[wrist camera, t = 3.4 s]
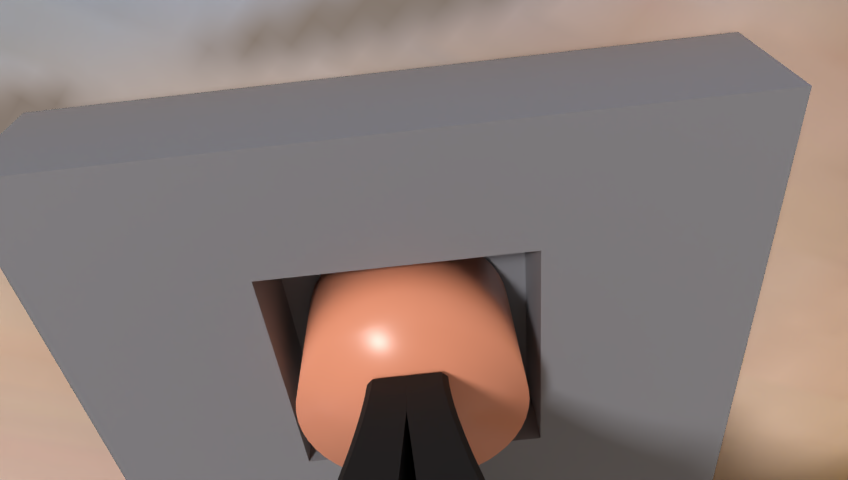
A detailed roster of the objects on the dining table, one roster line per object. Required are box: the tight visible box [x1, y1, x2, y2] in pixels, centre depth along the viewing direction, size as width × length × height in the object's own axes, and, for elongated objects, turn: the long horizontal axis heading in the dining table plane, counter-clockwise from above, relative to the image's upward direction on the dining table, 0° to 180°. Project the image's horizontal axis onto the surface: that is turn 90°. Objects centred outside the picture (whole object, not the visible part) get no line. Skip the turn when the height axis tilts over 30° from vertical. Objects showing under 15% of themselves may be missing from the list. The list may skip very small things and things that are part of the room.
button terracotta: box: [296, 257, 530, 467], centre depth 13 cm, size 4×4×3 cm
